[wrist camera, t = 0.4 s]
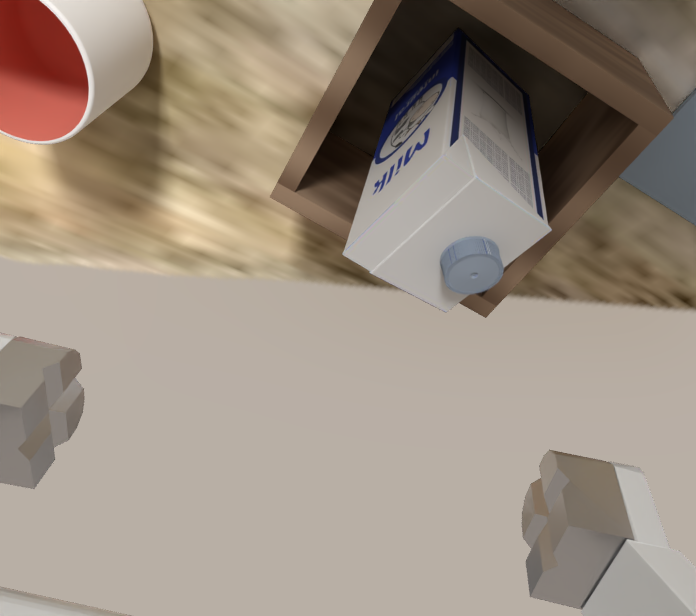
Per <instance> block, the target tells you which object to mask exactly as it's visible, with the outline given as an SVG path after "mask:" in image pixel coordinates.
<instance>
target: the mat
mask: <svg viewBox="0 0 696 616" xmlns="http://www.w3.org/2000/svg"><path fill="white" fill-rule="evenodd" d="M672 115H673V117H674V119H673V120H672V121H671V122H670V123H669V124H668V125H667V126H666V127H665V128H664V129H663V130H662V131H661V132H660V133H659V134H658V135H657V137H656V138H655V139H654V140H653V141H652V142H651V143H650V144H649V145H648V146H647V147H646V148H645V149H644V150H643V151H642V152H641V154H640V155H639V156H638V157H637V158H636V159H635V160H634V161H633V162H632V163H631V164H630V165H629V166H628V167H627V168H626V169H625V171H624V172H623V173H622V174H621V175H620V176H619V177H620V178H621V179H623V180H625V181H626V182H628V183H629V184H631V185H632V186H634V187H636V188H637V189H639V190H640V191H642V192H643V193H645V194H647V195H648V196H650V197H651V198H653V199H655V200H656V201H658V202H659V203H661V204H662V205H664V206H666V207H667V208H669V209H670V210H672V211H673V212H675V213H677V214H678V215H680V216H681V217H683V218H685V219H686V220H688V221H689V222H691V223H692V224H694V225H696V89H695V90H694V91H693V92H692V93H691V94H690V95H689V96H688V97H687V99H686V100H685V101H684V102H683V103H682V104H681V105H680V106H679V107H678V108H677V109H676V110H675V111H674V112H673V114H672Z"/></svg>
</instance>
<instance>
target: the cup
mask: <svg viewBox="0 0 696 616" xmlns="http://www.w3.org/2000/svg"><path fill="white" fill-rule="evenodd" d="M152 52H153V32H152V26H151V22H150V18H149V15H148V12H147V9H146V7H145V4H144V2H143V0H0V133H2V134H4V135H6V136H8V137H10V138H13V139H15V140H18V141H22V142H26V143H31V144H44V145H47V144H55V143H59V142H62V141H65V140H67V139H69V138H71V137H73V136H74V135H76V134H77V133H78V132H79V131H81V130H82V129H83V128H84V127H86V126H87V125H88V124H89V123H91V122H92V121H93V120H94V119H96V118H97V117H98V116H99V115H101V114H102V113H103V112H104V111H106V110H107V109H108V108H109V107H110V106H112V105H113V104H114V103H115V102H117V101H118V100H119V99H120V98H122V97H123V96H124V95H125V94H127V93H128V92H129V91H130V90H132V89H133V88H134V87H135V86H136V85H137V84H138V83H139V82H140V81H141V80H142V78H143V77H144V75H145V74H146V71H147V69H148V67H149V64H150V61H151V58H152Z"/></svg>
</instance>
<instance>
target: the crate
mask: <svg viewBox="0 0 696 616" xmlns="http://www.w3.org/2000/svg"><path fill="white" fill-rule="evenodd" d="M449 1H451V2H452V3H454V4H455V5H457V6H459V7H460V8H462V9H463V10H465V11H466V12H468V13H469V14H471V15H472V16H474V17H475V18H477V19H478V20H480V21H481V22H483V23H484V24H486V25H488V26H489V27H491V28H492V29H494V30H495V31H497V32H498V33H500V34H501V35H503V36H504V37H506V38H507V39H509V40H510V41H512V42H513V43H515V44H516V45H518V46H520V47H521V48H523V49H524V50H526V51H527V52H529V53H530V54H532V55H533V56H535V57H536V58H538V59H539V60H541V61H542V62H544V63H545V64H547V65H548V66H550V67H552V68H553V69H555V70H556V71H558V72H559V73H561V74H562V75H564V76H565V77H567V78H568V79H570V80H571V81H573V82H574V83H576V84H577V85H579V86H581V87H582V88H584V89H585V90H587V91H588V93H587V95H586V96H585V97H584V98H583V100H582V101H581V102H580V103H579V104H578V106H577V107H576V108H575V109H574V110H573V112H572V113H571V114H570V115H569V117H568V118H567V119H566V120H565V121H564V123H563V124H562V125H561V126H560V128H559V129H558V130H557V131H556V132H555V134H554V135H553V136H552V137H551V139H550V140H549V141H548V142H547V143H546V145H545V146H544V147H543V148H542V149H541V151H540V152H539V153H538V160H539V167H540V173H541V180H542V187H543V194H544V200H545V207H546V214H547V221H548V225H549V226H550V228H551V229H552V230H551V231H550V232H549V233H548V234H547V235H545V236H544V237H543V238H541V239H540V240H539V241H538V242H536V243H535V244H534V245H532V246H531V247H530V248H529V249H527V250H526V251H525V252H523V253H522V254H521V255H520V256H518V257H517V258H516V259H514V260H513V261H512V262H511V263H509V264H508V265H507V266H505V267H504V270H503V271H504V272H503V276H502V278H501V279H500V280H499V282H498V283H497V284H495V285H494V287H493V286H492V287H490V288H491V289H490V288H489V290H488V289H487V290H485V291H482V293H481V292H479V293H478V294H477V293H476V294H475V293H474V295H473V294H472V295H471V294H470V295H468V296H467V297H466V298H464V299H463V300H462V301H461V302H459V303H460V304H462V305H464V306H466V307H468V308H469V309H471V310H473V311H474V312H476V313H478V314H480V315H482V316H483V317H485V318H486V317H487V316H488V315H489V314H490V313H491V312H492V311H493V310H494V308H495V307H496V306H497V305H498V304H499V303H500V302H501V301H502V300H503V299H504V298H505V297H506V296H507V295H508V294H509V293H510V292H511V290H512V289H513V288H514V287H515V286H516V285H517V284H518V283H519V282H520V281H521V280H522V279H523V278H524V277H525V276H526V275H527V273H528V272H529V271H530V270H531V269H532V268H533V267H534V266H535V265H536V264H537V263H538V262H539V261H540V260H541V259H542V258H543V256H544V255H545V254H546V253H547V252H548V251H549V250H550V249H551V248H552V247H553V246H554V245H555V244H556V243H557V242H558V241H559V240H560V238H561V237H562V236H563V235H564V234H565V233H566V232H567V231H568V230H569V229H570V228H571V227H572V226H573V225H574V224H575V223H576V221H577V220H578V219H579V218H580V217H581V216H582V215H583V214H584V213H585V212H586V211H587V210H588V209H589V208H590V207H591V206H592V204H593V203H594V202H595V201H596V200H597V199H598V198H599V197H600V196H601V195H602V194H603V193H604V192H605V191H606V190H607V189H608V187H609V186H610V185H611V184H612V183H613V182H614V181H615V180H616V179H617V178H618V177H619V176H620V175H621V174H622V173H623V172H624V171H625V169H626V168H627V167H628V166H629V165H630V164H631V163H632V162H633V161H634V160H635V159H636V158H637V157H638V156H639V155H640V154H641V152H642V151H643V150H644V149H645V148H646V147H647V146H648V145H649V144H650V143H651V142H652V141H653V140H654V139H655V138H656V137H657V135H658V134H659V133H660V132H661V131H662V130H663V129H664V128H665V127H666V126H667V125H668V124H669V123H670V122H671V121H672V120H673V119H674V117H673V115H672V114H671V112H670V110H669V109H668V107H667V105H666V104H665V102H664V100H663V99H662V97H661V95H660V94H659V92H658V90H657V88H656V87H655V85H654V83H653V82H652V80H651V78H650V77H649V75H648V73H647V72H646V70H645V68H644V67H643V65H642V63H641V62H640V60H639V59H638V58H637V57H635V56H634V55H632V54H631V53H629V52H628V51H626V50H625V49H623V48H622V47H620V46H619V45H618V44H616V43H615V42H613V41H612V40H610V39H609V38H607V37H606V36H604V35H603V34H601V33H600V32H598V31H597V30H595V29H594V28H592V27H591V26H590V25H588V24H587V23H585V22H584V21H582V20H581V19H579V18H578V17H576V16H575V15H573V14H572V13H570V12H569V11H567V10H566V9H564V8H563V7H562V6H560V5H559V4H557V3H556V2H554V1H553V0H449ZM400 2H401V0H374V1H373V3H372V5H371V7H370V9H369V11H368V13H367V15H366V16H365V18H364V20H363V22H362V24H361V26H360V28H359V30H358V31H357V33H356V35H355V37H354V39H353V41H352V43H351V45H350V47H349V48H348V50H347V52H346V54H345V56H344V58H343V60H342V62H341V64H340V65H339V67H338V69H337V71H336V73H335V75H334V77H333V79H332V80H331V82H330V84H329V86H328V88H327V90H326V92H325V94H324V96H323V97H322V99H321V101H320V103H319V105H318V107H317V109H316V111H315V113H314V114H313V116H312V118H311V120H310V122H309V124H308V126H307V128H306V130H305V131H304V133H303V135H302V137H301V139H300V141H299V143H298V145H297V146H296V148H295V150H294V152H293V154H292V156H291V158H290V160H289V162H288V163H287V165H286V167H285V169H284V171H283V173H282V175H281V177H280V179H279V180H278V182H277V184H276V186H275V188H274V190H273V192H272V194H271V195H270V198H272V199H274V200H276V201H277V202H279V203H281V204H283V205H285V206H286V207H288V208H290V209H292V210H294V211H295V212H297V213H299V214H301V215H303V216H304V217H306V218H308V219H310V220H312V221H313V222H315V223H317V224H319V225H320V226H322V227H324V228H326V229H328V230H329V231H331V232H333V233H335V234H337V235H338V236H340V237H342V238H344V239H346V240H348V236H349V233H350V230H351V227H352V224H353V221H354V218H355V214H356V211H357V208H358V205H359V202H360V199H361V196H362V192H363V189H364V186H365V183H366V180H367V177H368V173H369V170H370V167H371V164H372V161H373V158H374V157H372V156H370V155H368V154H367V153H365V152H363V151H362V150H360V149H358V148H357V147H355V146H353V145H351V144H350V143H348V142H346V141H345V140H343V139H341V138H340V137H338V136H336V135H335V134H333V133H331V132H329V129H330V128H331V126H332V124H333V122H334V121H335V119H336V117H337V115H338V113H339V112H340V110H341V108H342V106H343V104H344V103H345V101H346V99H347V97H348V95H349V94H350V92H351V90H352V88H353V86H354V85H355V83H356V81H357V79H358V78H359V76H360V74H361V72H362V70H363V69H364V67H365V65H366V63H367V61H368V60H369V58H370V56H371V54H372V52H373V51H374V49H375V47H376V45H377V43H378V42H379V40H380V38H381V36H382V35H383V33H384V31H385V29H386V27H387V26H388V24H389V22H390V20H391V18H392V17H393V15H394V13H395V11H396V9H397V8H398V6H399V4H400Z"/></svg>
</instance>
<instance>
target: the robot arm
mask: <svg viewBox="0 0 696 616" xmlns="http://www.w3.org/2000/svg"><path fill="white" fill-rule="evenodd" d="M81 369H82V366H81V359H80V353H78V352H77V351H76V350H74V349H70V348H66V347H62V346H58V345H53V344H49V343H45V342H41V341H36V340H32V339H28V338H24V337H16V336H12V335H8V334H4V333H0V483H5V484H10V485H15V486H21V487H26V488H31V489H34V488H35V487H36V486H37V484H38V483H39V481H40V480H41V479H42V477H43V476H44V474H45V473H46V471H47V470H48V468H49V467H50V466H51V464H52V463H53V462H54V460H55V455H54V447H56V446H58V445H60V444H62V443H64V442H66V441H68V440H69V439H70V437H71V436H72V434H73V433H74V431H75V430H76V428H77V426H78V423H79V421H80V418H81V415H82V413H83V406H84V388H83V387H82V386H81V384H80V383H79V382H78V381H77V379H76V378H75V377H76V375H77V374H78V373H79V372H80V370H81ZM539 467H540V473H541V478H540V479H538V480H537V481H535V482H533V483H531V485H530V487H529V490H528V492H527V494H526V497H525V501H524V506H523V511H522V532H523V538H524V540H525V541H526V542H527V544H528V545H529V546H530V548H531V551H530V553H529V556H528V557H527V560H526V568H527V576H528V584H529V592H530V597H533V598H537V599H541V600H545V601H549V602H553V603H557V604H561V605H566V606H569V607H573V608H578V609H582V611H581V613H582V614H583V616H696V567H695V566H694V565H693V564H692V563H691V562H690V561H689V560H688V559H687V558H686V557H685V556H684V555H683V554H682V553H681V552H680V551H677V550H674V549H670V547H669V544H668V541H667V538H666V535H665V532H664V529H663V526H662V524H661V521H660V518H659V515H658V512H657V509H656V506H655V504H654V501H653V498H652V495H651V492H650V489H649V487H648V483H647V480H646V478H645V475H644V472H643V471H642V470H641V469H640V468H639V467H634V466H629V465H624V464H619V463H614V462H606V461H602V460H596V459H592V458H587V457H582V456H577V455H572V454H567V453H562V452H557V451H552V450H549V451H548V452H547V453H546V454H545V455H544V457H543V459H542V461H541V463H540V466H539ZM0 616H131V615H126V614H121V613H117V612H113V611H108V610H103V609H99V608H95V607H90V606H86V605H81V604H77V603H72V602H68V601H63V600H59V599H54V598H50V597H45V596H41V595H36V594H31V593H27V592H22V591H18V590H13V589H9V588H4V587H0Z"/></svg>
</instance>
